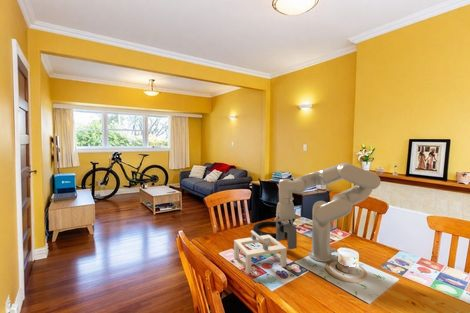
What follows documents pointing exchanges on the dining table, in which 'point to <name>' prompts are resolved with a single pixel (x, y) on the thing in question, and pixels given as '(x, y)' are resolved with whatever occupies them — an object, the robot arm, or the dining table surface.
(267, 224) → the cable lock
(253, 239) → the cream frame with rod
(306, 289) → the dining table surface
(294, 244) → the grey piece
